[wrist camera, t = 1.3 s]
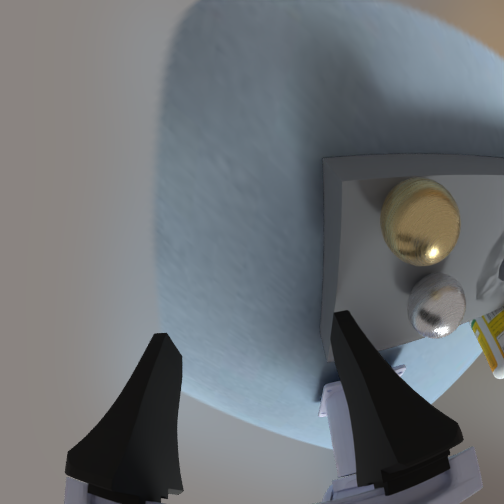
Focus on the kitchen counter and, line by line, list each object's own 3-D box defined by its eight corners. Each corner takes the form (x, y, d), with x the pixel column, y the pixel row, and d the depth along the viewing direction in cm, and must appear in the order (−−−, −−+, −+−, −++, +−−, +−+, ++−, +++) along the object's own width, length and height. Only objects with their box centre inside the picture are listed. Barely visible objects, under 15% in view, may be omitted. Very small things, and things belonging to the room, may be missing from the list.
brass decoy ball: (424, 229, 10) (461, 275, 7) (364, 238, 10) (395, 292, 8) (435, 163, 8) (486, 202, 6) (369, 165, 8) (415, 209, 6)
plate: (507, 279, 17) (520, 297, 15) (319, 332, 18) (327, 362, 16) (547, 164, 9) (568, 179, 7) (322, 158, 11) (342, 181, 9)
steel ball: (437, 297, 13) (460, 340, 10) (391, 309, 13) (413, 358, 10) (453, 254, 11) (486, 299, 8) (405, 264, 11) (436, 317, 9)
